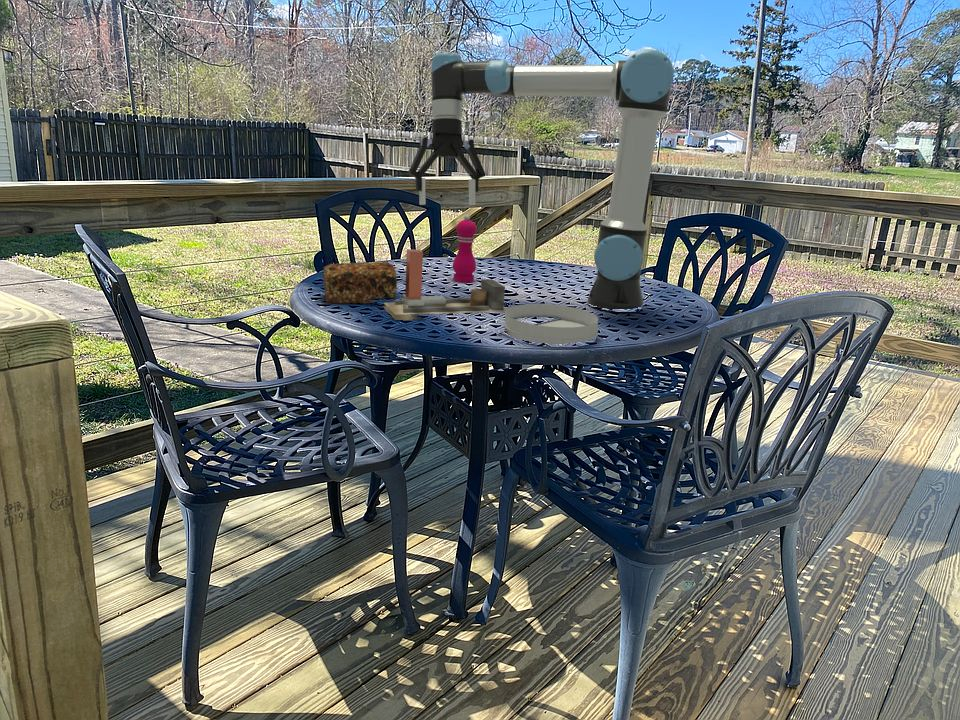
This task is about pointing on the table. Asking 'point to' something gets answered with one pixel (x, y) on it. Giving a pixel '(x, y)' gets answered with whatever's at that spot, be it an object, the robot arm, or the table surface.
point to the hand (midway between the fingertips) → (447, 205)
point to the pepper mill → (465, 252)
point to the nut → (478, 297)
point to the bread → (359, 282)
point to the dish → (551, 324)
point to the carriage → (417, 284)
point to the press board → (454, 304)
